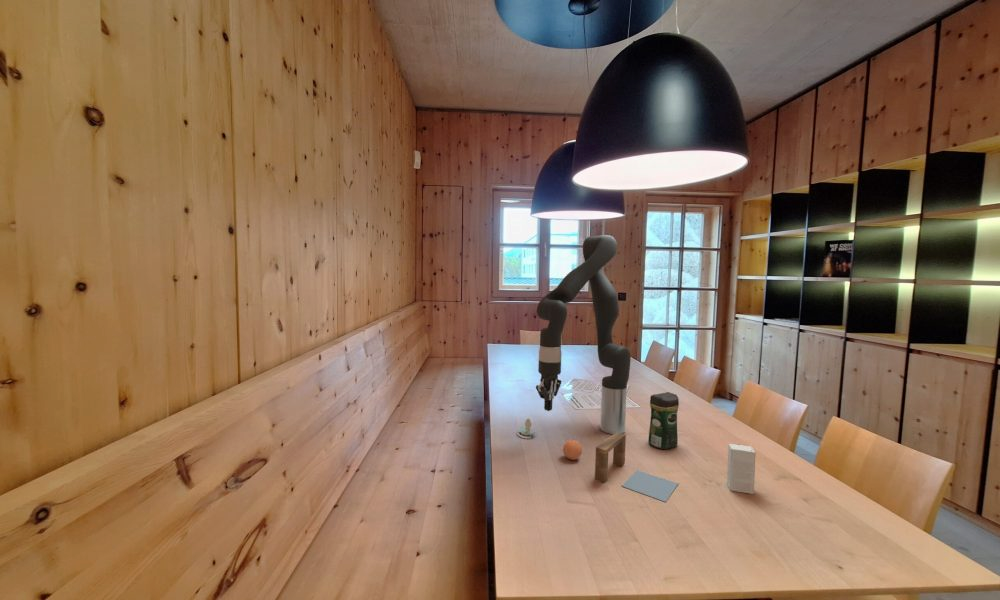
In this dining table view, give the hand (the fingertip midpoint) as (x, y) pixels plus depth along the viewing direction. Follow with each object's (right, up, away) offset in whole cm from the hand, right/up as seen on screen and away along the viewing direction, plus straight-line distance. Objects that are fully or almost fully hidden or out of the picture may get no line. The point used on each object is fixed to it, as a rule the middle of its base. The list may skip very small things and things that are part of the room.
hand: (548, 409), depth 134 cm
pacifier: (-7, -13, +13) cm, 20 cm away
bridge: (+17, -15, -13) cm, 27 cm away
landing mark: (+27, -16, -21) cm, 37 cm away
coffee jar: (+41, -15, +7) cm, 45 cm away
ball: (+7, -12, -5) cm, 15 cm away
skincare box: (+52, -17, -22) cm, 58 cm away
